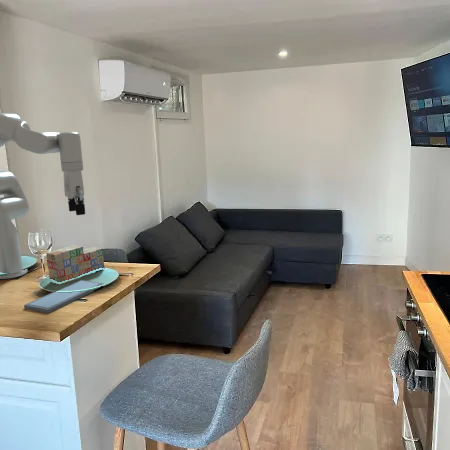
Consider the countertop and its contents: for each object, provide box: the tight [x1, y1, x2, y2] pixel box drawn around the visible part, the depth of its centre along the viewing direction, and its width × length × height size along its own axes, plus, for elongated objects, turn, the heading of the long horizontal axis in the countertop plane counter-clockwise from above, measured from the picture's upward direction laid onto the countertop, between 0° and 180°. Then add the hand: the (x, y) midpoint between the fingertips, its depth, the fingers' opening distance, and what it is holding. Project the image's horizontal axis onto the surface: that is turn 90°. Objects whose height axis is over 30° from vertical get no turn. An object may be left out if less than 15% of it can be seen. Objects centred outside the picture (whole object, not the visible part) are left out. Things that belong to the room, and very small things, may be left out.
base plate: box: [23, 279, 104, 314], centre depth 158 cm, size 11×26×1 cm, turn 153°
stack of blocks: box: [46, 244, 105, 282], centre depth 179 cm, size 21×6×12 cm, turn 143°
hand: (77, 212), depth 168 cm, fingers open, 9 cm apart
